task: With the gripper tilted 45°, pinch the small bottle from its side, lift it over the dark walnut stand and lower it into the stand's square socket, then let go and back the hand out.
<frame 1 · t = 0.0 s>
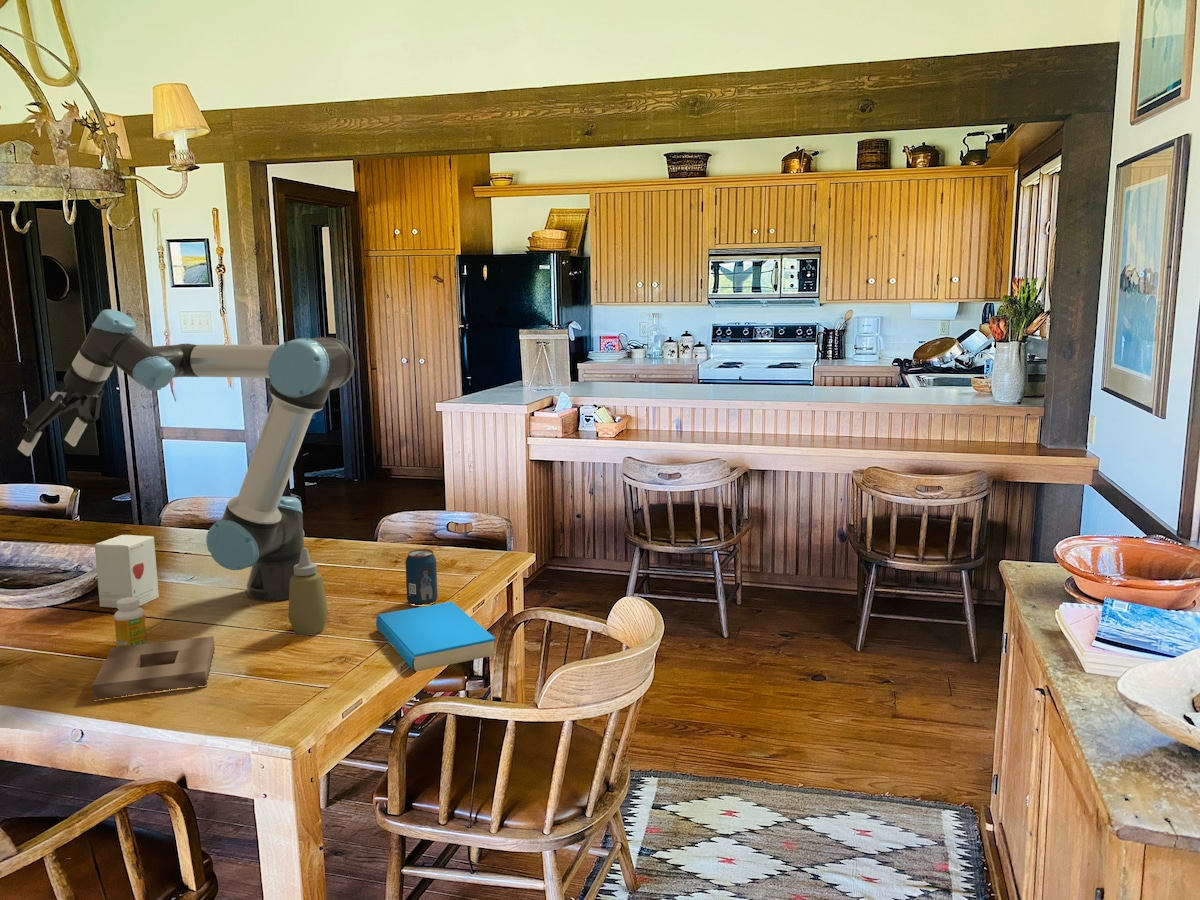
hand: (47, 447, 202), 36 cm above the table, tool tilted 35°, fingers open, 13 cm apart
book: (434, 645, 181), on the table
supplement box: (130, 603, 206), on the table
socket stand: (158, 674, 165), on the table
soda can: (422, 603, 204), on the table
squeeze bottle: (309, 631, 187), on the table
supplement bottle: (132, 647, 179), on the table
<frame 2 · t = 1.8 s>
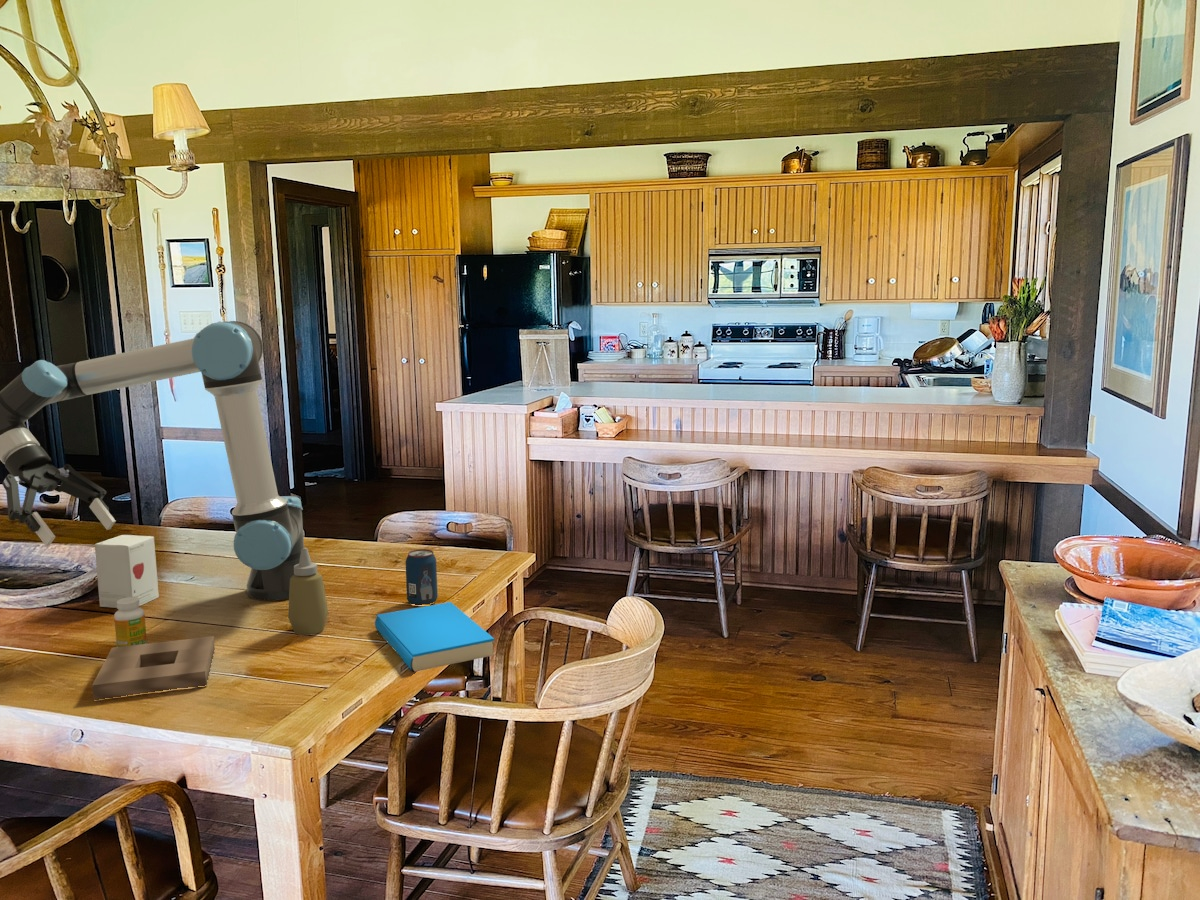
hand: (82, 533, 179), 22 cm above the table, tool tilted 45°, fingers open, 13 cm apart
nothing on the table moved.
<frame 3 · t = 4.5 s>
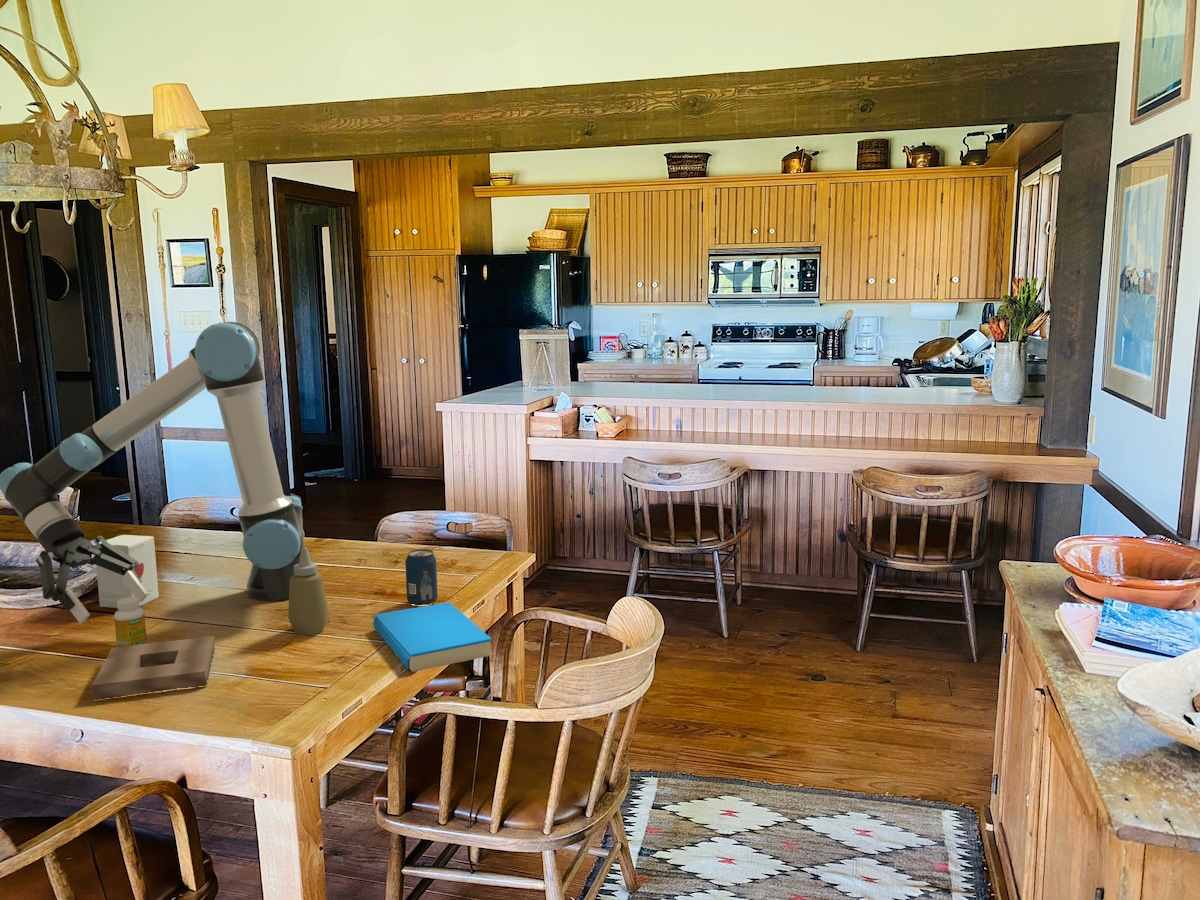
hand: (115, 608, 178), 8 cm above the table, tool tilted 45°, fingers open, 13 cm apart
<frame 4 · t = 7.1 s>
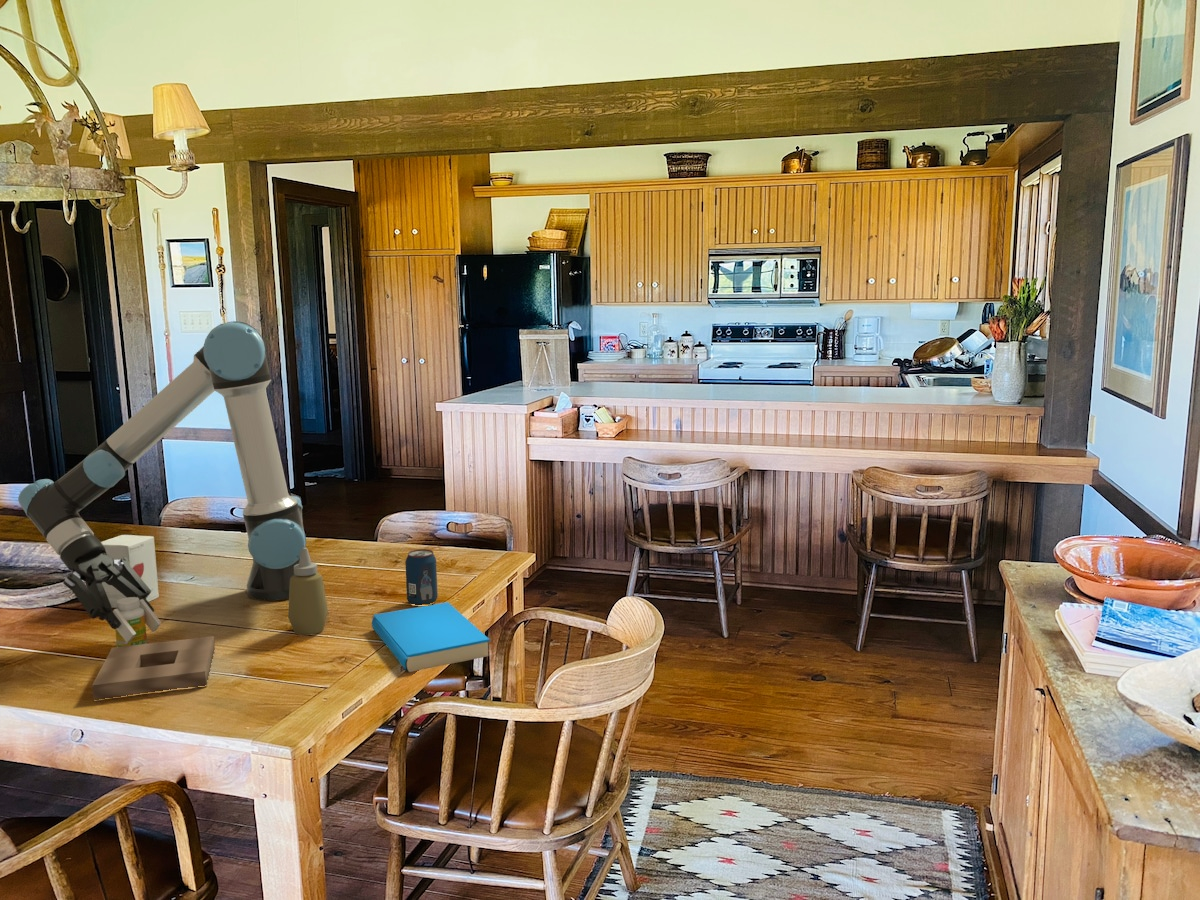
hand: (144, 632, 177), 3 cm above the table, tool tilted 45°, fingers closed on supplement bottle, 5 cm apart
supplement bottle: (132, 647, 179), on the table, touching gripper
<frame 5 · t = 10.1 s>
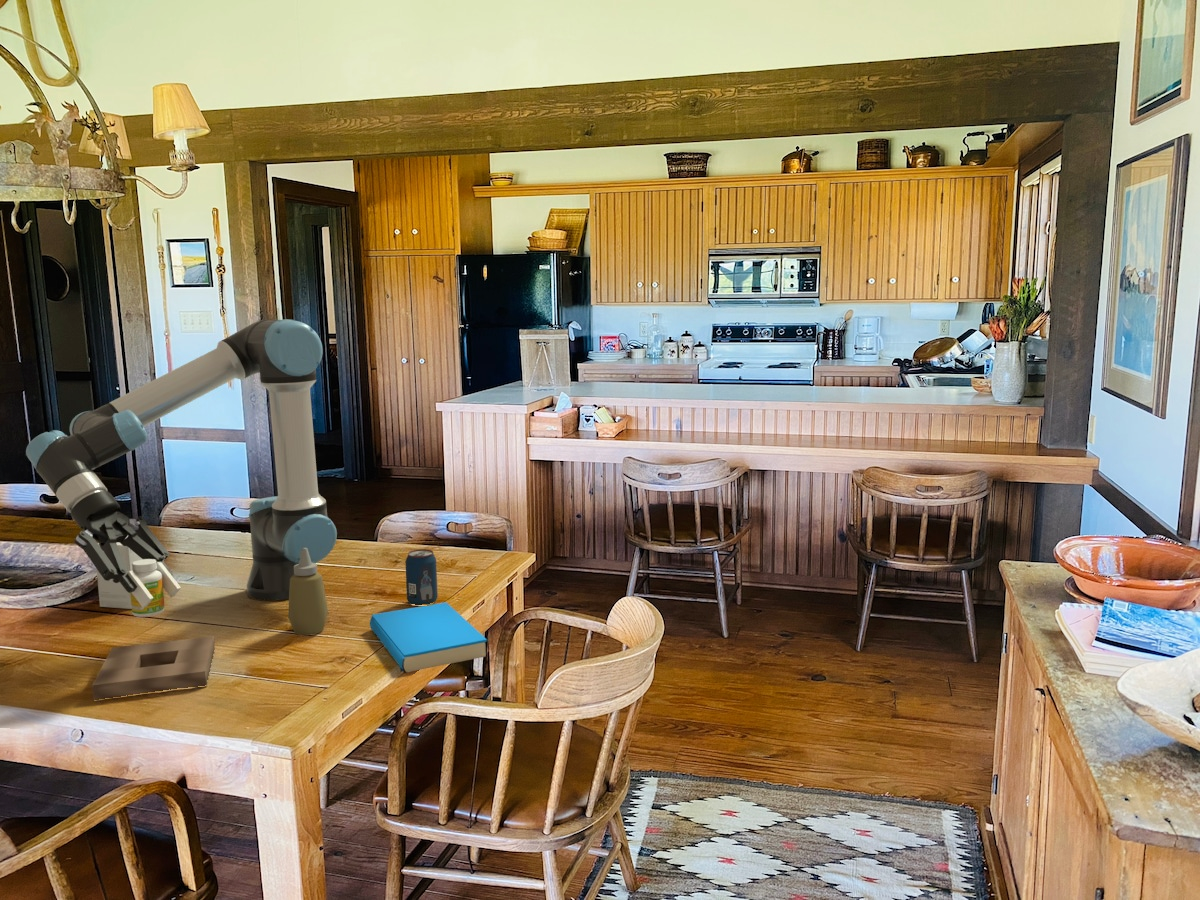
hand: (162, 597, 162), 15 cm above the table, tool tilted 45°, fingers closed on supplement bottle, 5 cm apart
supplement bottle: (148, 613, 164), point 12 cm above the table, touching gripper
when the fingers open (5 cm above the table, at t = 13.3 s): supplement bottle drops 2 cm, resting in socket stand.
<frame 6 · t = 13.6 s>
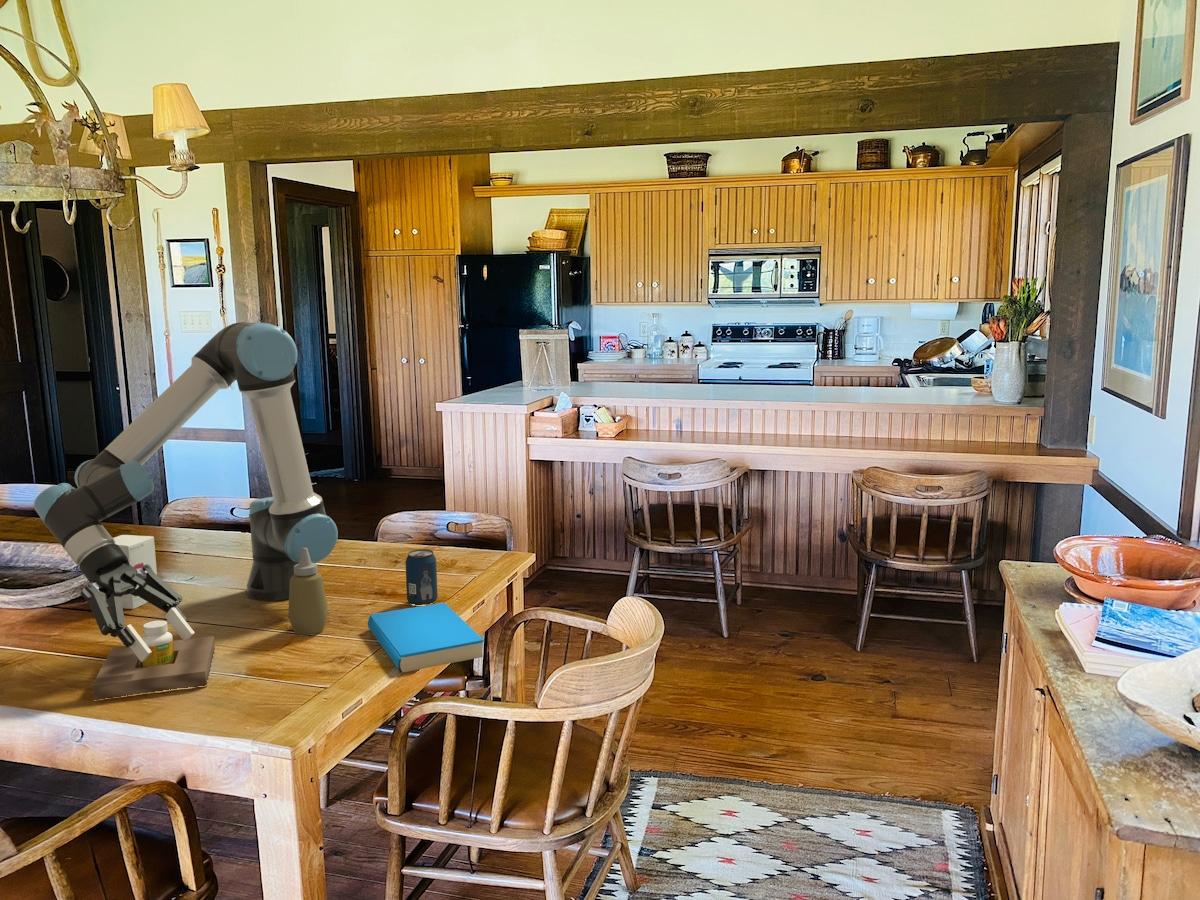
hand: (168, 646, 163), 6 cm above the table, tool tilted 45°, fingers open, 9 cm apart
supplement bottle: (159, 674, 166), resting in socket stand
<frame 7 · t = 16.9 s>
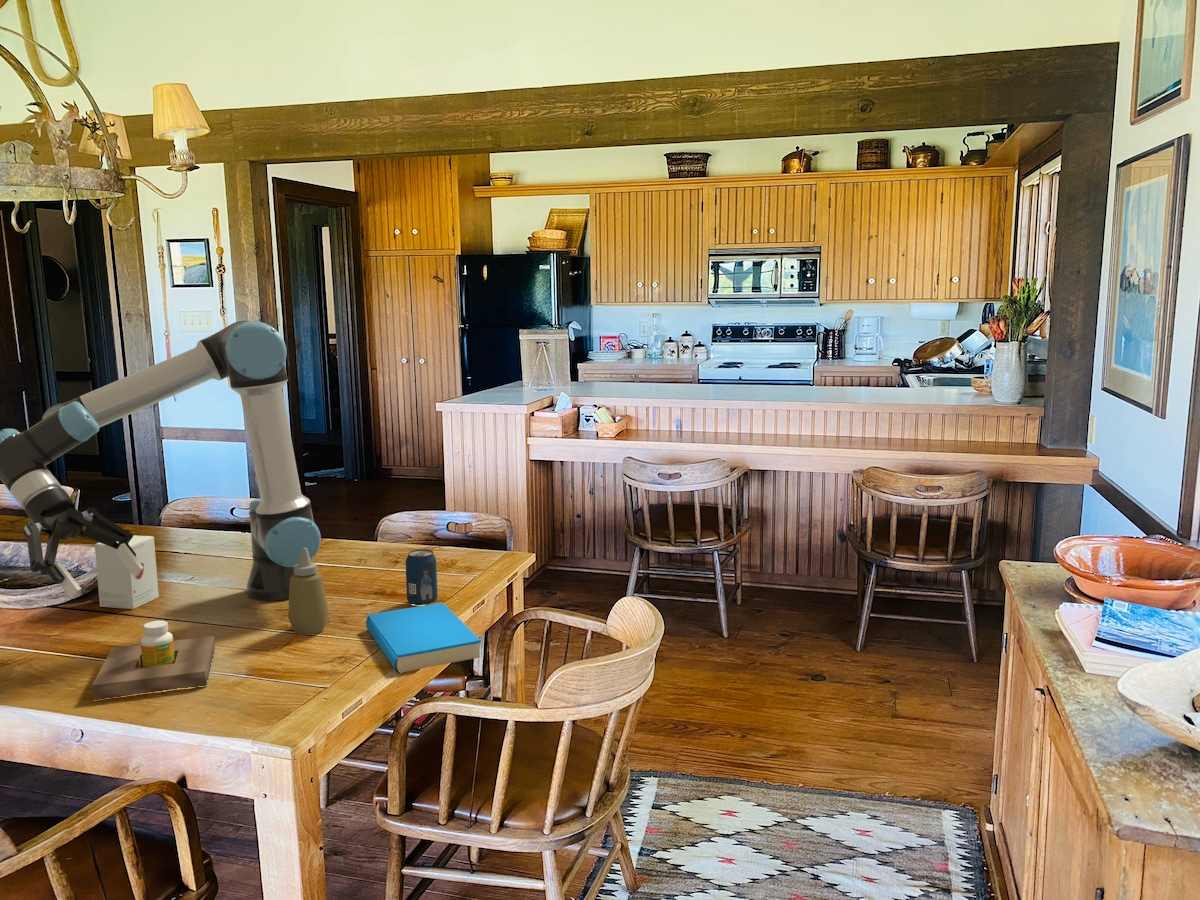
hand: (109, 583, 166), 16 cm above the table, tool tilted 45°, fingers open, 13 cm apart
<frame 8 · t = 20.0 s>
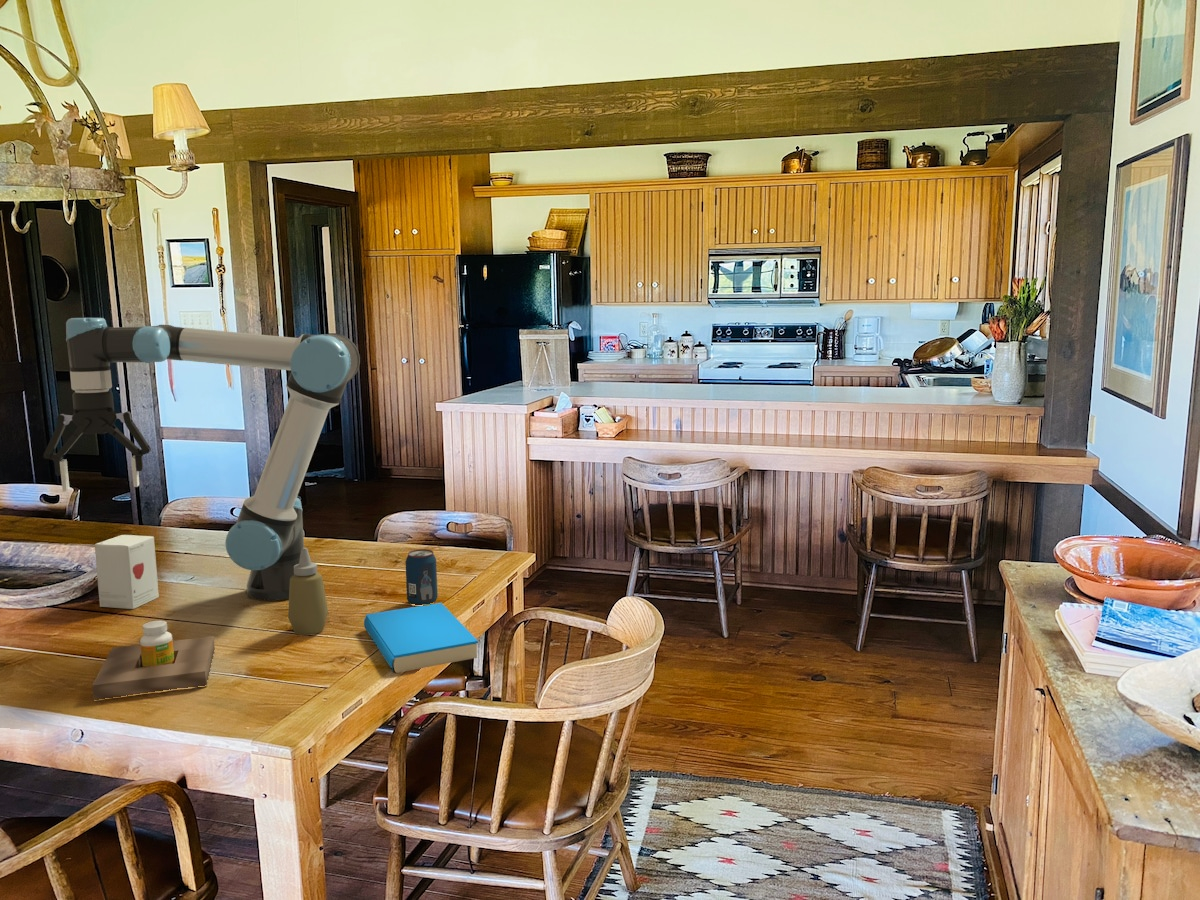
hand: (101, 488, 193), 29 cm above the table, tool pointing down, fingers open, 13 cm apart
at the end: supplement bottle 0.3 cm off-centre on the socket stand, point 0.0 cm above the socket stand's base; supplement bottle tilted 1°; the gripper is holding nothing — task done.
